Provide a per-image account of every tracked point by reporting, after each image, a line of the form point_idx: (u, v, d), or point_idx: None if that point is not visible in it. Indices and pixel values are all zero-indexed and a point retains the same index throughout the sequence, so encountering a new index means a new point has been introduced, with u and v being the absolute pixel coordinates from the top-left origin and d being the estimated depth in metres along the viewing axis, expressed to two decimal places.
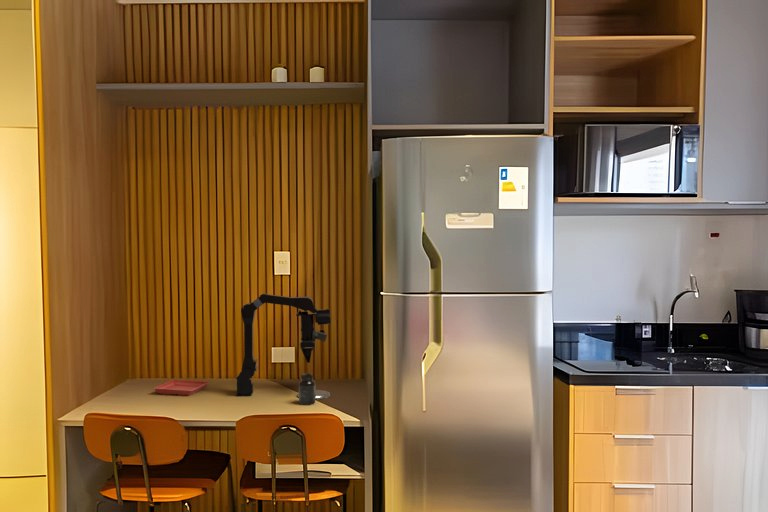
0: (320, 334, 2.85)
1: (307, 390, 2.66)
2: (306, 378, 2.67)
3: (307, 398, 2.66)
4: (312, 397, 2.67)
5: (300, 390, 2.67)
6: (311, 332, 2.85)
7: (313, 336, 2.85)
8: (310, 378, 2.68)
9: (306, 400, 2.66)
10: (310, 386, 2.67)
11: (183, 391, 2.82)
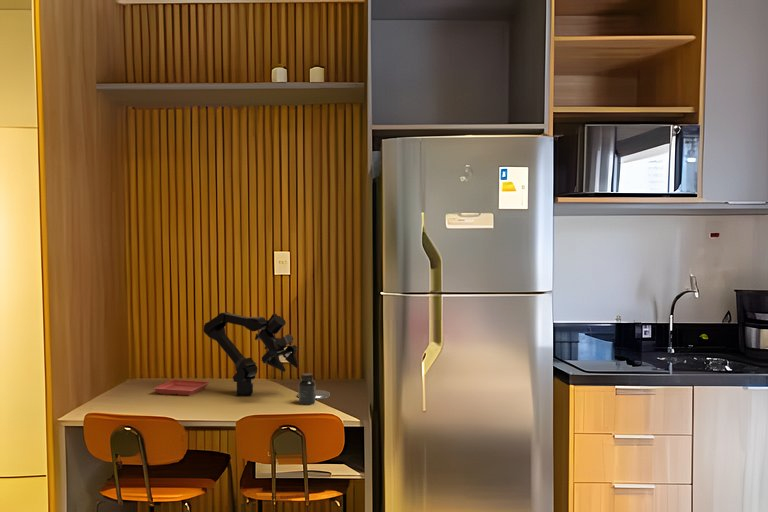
0: (279, 340, 2.73)
1: (307, 390, 2.66)
2: (306, 378, 2.67)
3: (307, 398, 2.66)
4: (312, 397, 2.67)
5: (300, 390, 2.67)
6: (273, 344, 2.75)
7: (275, 346, 2.73)
8: (310, 378, 2.68)
9: (306, 400, 2.66)
10: (310, 386, 2.67)
11: (183, 391, 2.82)
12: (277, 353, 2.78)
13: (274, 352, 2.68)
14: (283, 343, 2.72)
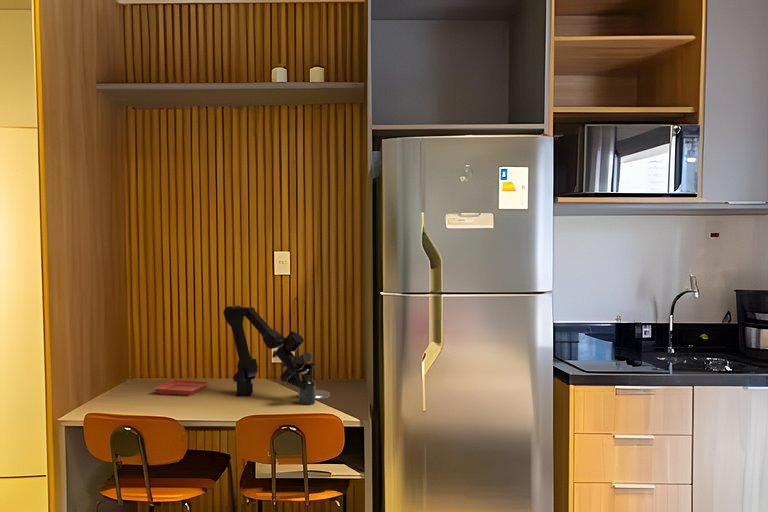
0: (297, 358, 2.69)
1: (307, 390, 2.66)
2: (306, 378, 2.67)
3: (307, 398, 2.66)
4: (312, 397, 2.67)
5: (300, 390, 2.67)
6: (291, 362, 2.70)
7: (294, 364, 2.69)
8: (310, 378, 2.68)
9: (306, 400, 2.66)
10: (310, 386, 2.67)
11: (183, 391, 2.82)
12: None
13: (292, 371, 2.64)
14: (301, 361, 2.68)
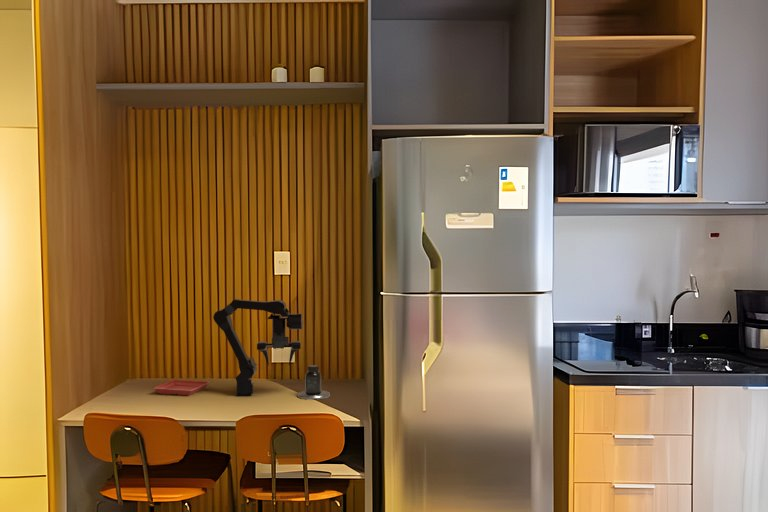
0: (272, 340, 2.79)
1: (316, 381, 2.80)
2: (314, 369, 2.80)
3: (316, 388, 2.80)
4: (320, 387, 2.81)
5: (309, 381, 2.80)
6: None
7: None
8: (317, 369, 2.82)
9: (315, 390, 2.80)
10: (319, 376, 2.81)
11: (183, 391, 2.82)
12: None
13: (262, 348, 2.81)
14: (272, 345, 2.78)
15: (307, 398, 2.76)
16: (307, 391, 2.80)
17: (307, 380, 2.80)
